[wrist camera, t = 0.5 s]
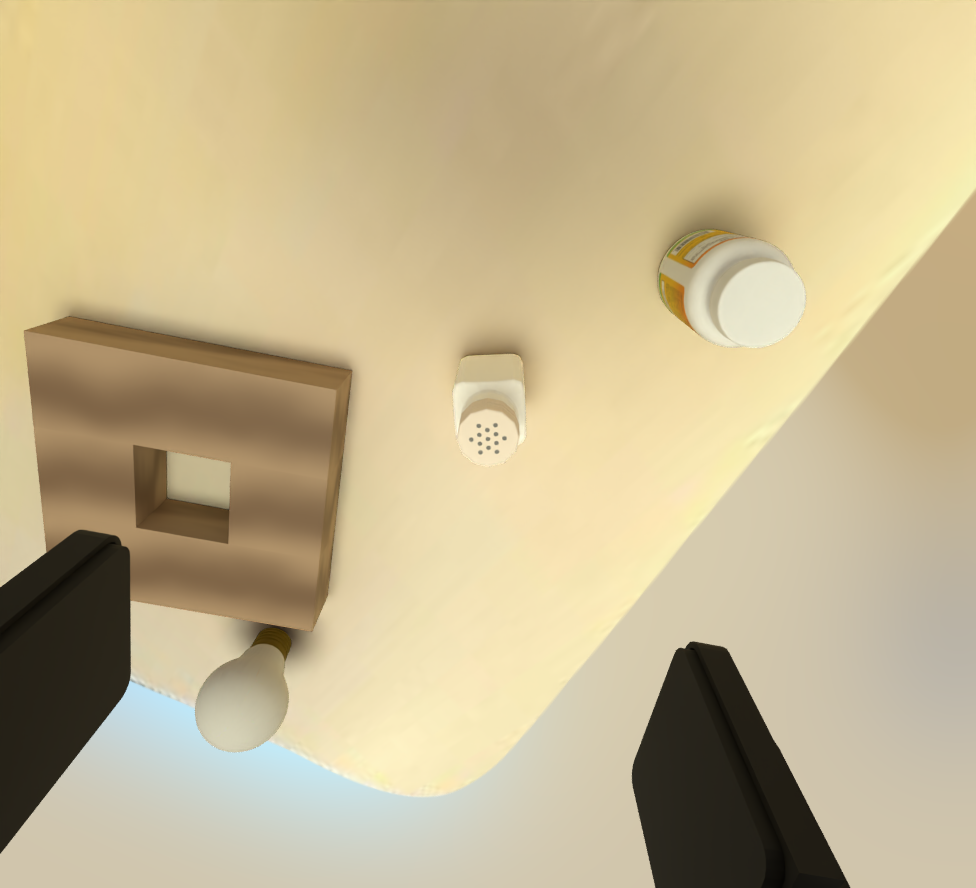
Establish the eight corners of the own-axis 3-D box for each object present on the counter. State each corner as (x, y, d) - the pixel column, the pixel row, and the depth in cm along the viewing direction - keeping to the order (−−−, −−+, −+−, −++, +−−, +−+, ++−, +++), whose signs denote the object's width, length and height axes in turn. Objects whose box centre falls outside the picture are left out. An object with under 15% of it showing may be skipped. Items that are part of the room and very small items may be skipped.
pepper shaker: (522, 350, 40) (526, 399, 31) (524, 410, 41) (528, 473, 32) (459, 353, 40) (445, 403, 31) (463, 412, 41) (451, 475, 32)
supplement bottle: (723, 331, 39) (788, 378, 30) (641, 305, 38) (682, 344, 29) (763, 244, 37) (846, 266, 28) (678, 215, 36) (734, 228, 27)
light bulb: (230, 645, 49) (166, 752, 40) (255, 591, 47) (194, 691, 38) (299, 674, 50) (253, 784, 41) (327, 622, 48) (284, 727, 39)
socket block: (68, 316, 39) (23, 330, 36) (352, 370, 40) (336, 390, 37) (86, 554, 46) (50, 586, 43) (327, 596, 47) (312, 631, 44)
